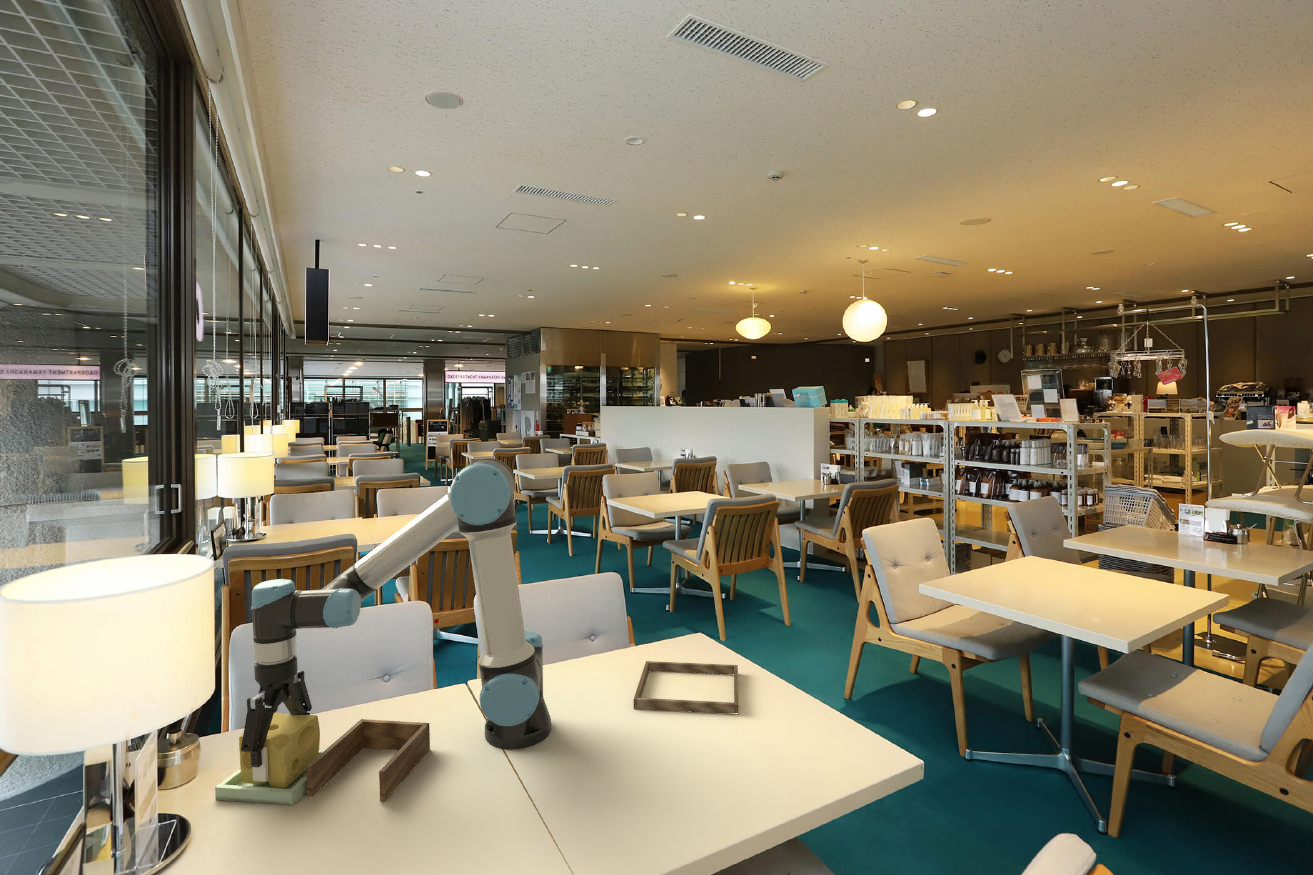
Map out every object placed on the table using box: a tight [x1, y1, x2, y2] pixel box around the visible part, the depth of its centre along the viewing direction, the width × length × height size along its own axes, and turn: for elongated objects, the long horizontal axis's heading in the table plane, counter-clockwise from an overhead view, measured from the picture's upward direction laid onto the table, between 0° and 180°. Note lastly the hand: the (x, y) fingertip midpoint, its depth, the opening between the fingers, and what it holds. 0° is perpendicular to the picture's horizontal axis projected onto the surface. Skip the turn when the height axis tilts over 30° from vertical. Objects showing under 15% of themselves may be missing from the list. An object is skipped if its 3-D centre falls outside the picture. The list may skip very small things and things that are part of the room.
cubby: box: [306, 718, 431, 803], centre depth 136 cm, size 16×19×6 cm
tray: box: [214, 749, 326, 806], centre depth 133 cm, size 16×15×2 cm
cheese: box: [238, 712, 321, 789], centre depth 133 cm, size 10×11×10 cm
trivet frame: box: [632, 660, 740, 714], centre depth 174 cm, size 26×24×2 cm
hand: (280, 764), depth 133 cm, fingers open, 10 cm apart
